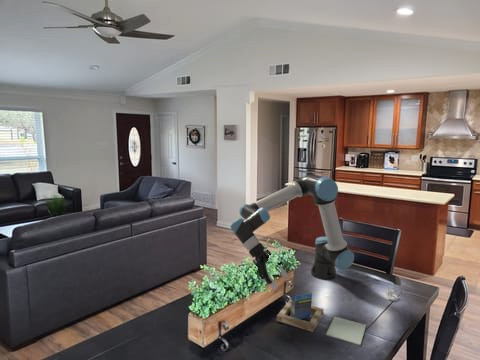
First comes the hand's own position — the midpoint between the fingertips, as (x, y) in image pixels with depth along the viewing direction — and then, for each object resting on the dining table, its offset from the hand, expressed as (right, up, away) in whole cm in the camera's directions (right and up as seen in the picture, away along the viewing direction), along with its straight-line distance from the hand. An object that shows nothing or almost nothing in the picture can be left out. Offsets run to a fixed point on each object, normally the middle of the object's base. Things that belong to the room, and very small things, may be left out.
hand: (281, 283), depth 160 cm
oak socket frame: (+9, -15, -2) cm, 18 cm away
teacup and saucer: (+57, -14, +18) cm, 61 cm away
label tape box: (+9, -16, -2) cm, 18 cm away
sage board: (+27, -17, -12) cm, 34 cm away
